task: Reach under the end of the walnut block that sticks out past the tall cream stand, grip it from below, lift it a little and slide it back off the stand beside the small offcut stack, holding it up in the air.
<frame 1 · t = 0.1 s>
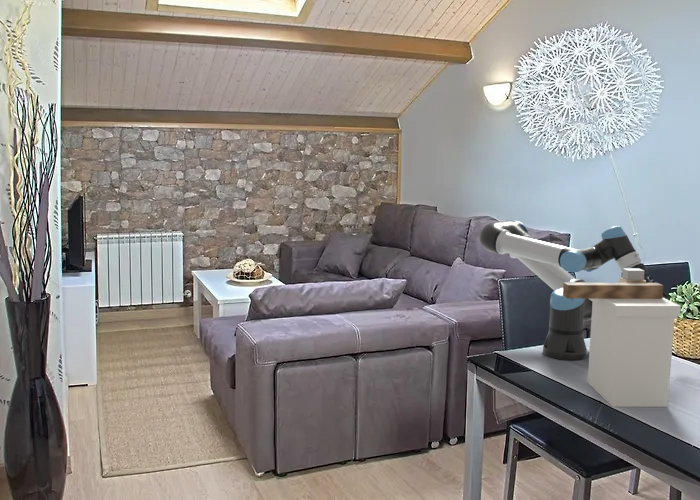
hand: (664, 322, 230), 15 cm above the table, tool tilted 35°, fingers open, 13 cm apart
walnut block: (612, 297, 200), point 30 cm above the table, touching cream stand
birch offcut: (631, 291, 208), point 30 cm above the table, touching cream stand, grey offcut
cream stand: (625, 394, 205), on the table
butter churn: (624, 347, 254), on the table
grey offcut: (632, 279, 207), point 34 cm above the table, touching birch offcut
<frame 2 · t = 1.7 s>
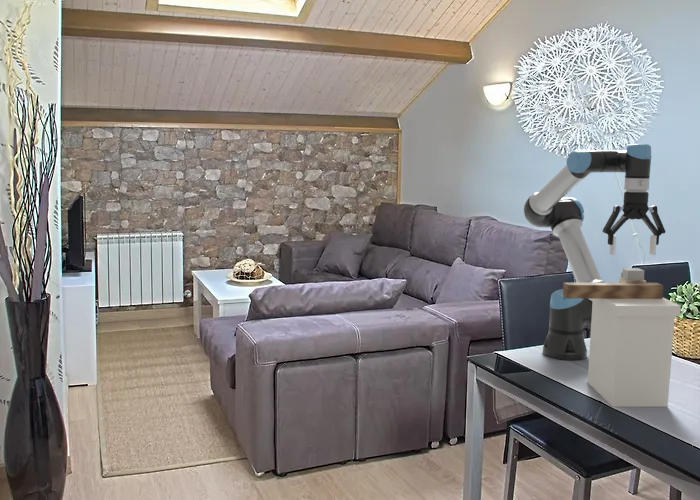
hand: (632, 254, 227), 38 cm above the table, tool pointing down, fingers open, 13 cm apart
nothing on the table moved.
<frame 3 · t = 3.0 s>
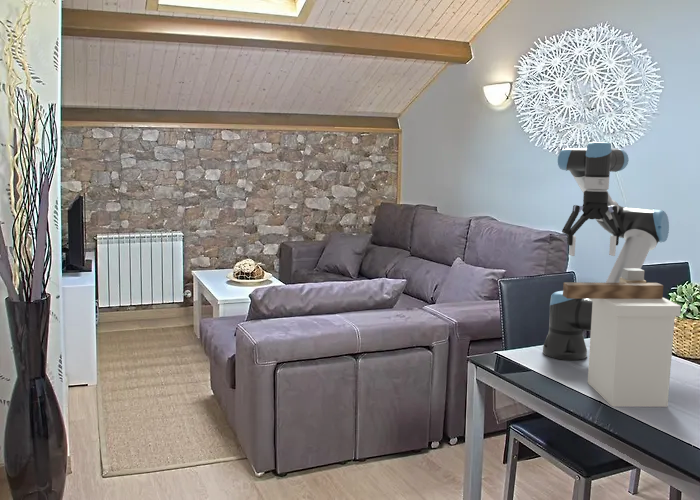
hand: (592, 255, 222), 39 cm above the table, tool pointing down, fingers open, 13 cm apart
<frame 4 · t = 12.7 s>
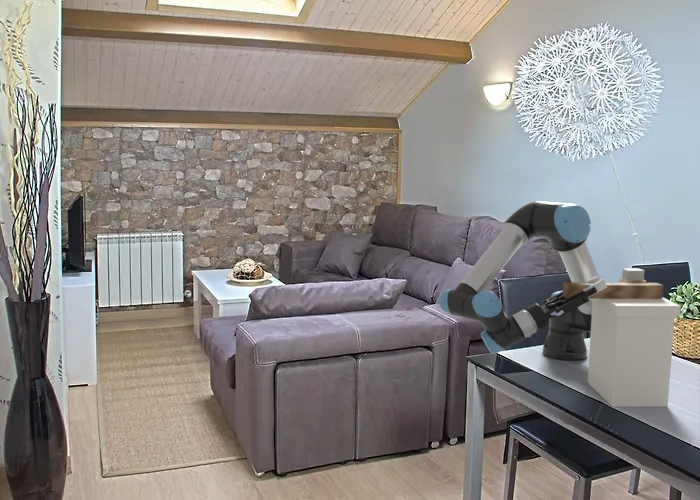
hand: (601, 281, 200), 35 cm above the table, tool pointing upward, fingers closed on walnut block, 4 cm apart
walnut block: (612, 297, 200), point 30 cm above the table, touching cream stand, gripper
butter churn: (625, 340, 255), point 2 cm above the table
everything else where it was.
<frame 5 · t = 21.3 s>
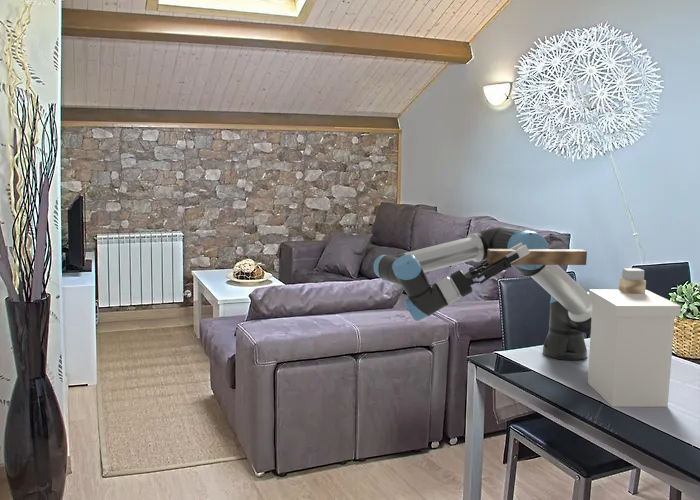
hand: (525, 247, 198), 45 cm above the table, tool pointing upward, fingers closed on walnut block, 4 cm apart
walnut block: (536, 263, 199), point 40 cm above the table, touching gripper
everything else where it was.
at the end: the gripper is holding walnut block; walnut block moved 25.1 cm from its start; walnut block touching gripper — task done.
